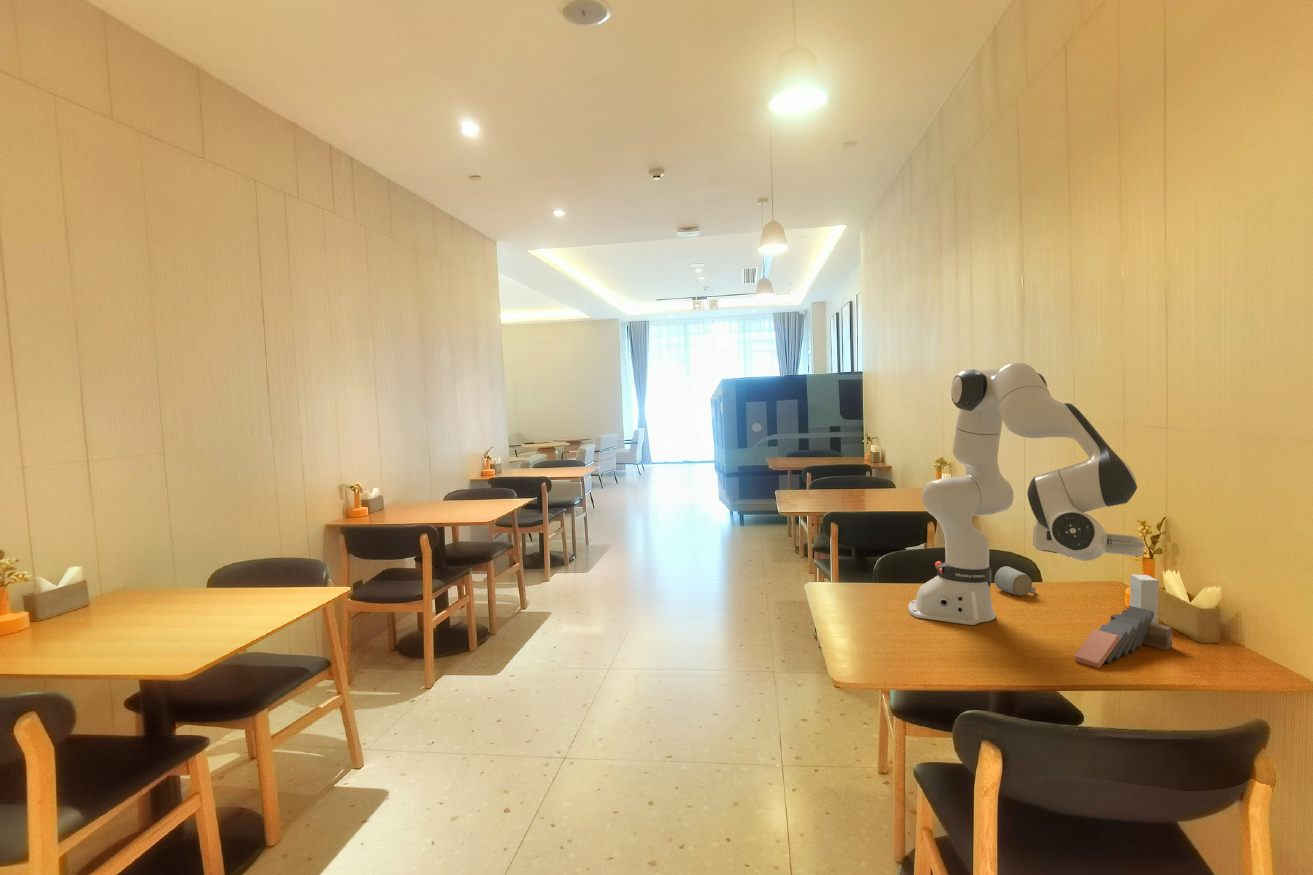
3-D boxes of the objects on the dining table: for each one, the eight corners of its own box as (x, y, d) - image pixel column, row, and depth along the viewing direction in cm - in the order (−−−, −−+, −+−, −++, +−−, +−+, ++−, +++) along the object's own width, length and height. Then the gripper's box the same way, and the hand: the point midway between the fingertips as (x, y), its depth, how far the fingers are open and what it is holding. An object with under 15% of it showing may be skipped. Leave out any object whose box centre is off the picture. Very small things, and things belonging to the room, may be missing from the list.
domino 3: (1115, 655, 150) (1133, 625, 154) (1092, 648, 154) (1110, 619, 158) (1117, 660, 151) (1135, 630, 155) (1094, 653, 155) (1112, 624, 159)
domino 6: (1137, 644, 156) (1152, 610, 159) (1114, 637, 160) (1129, 605, 163) (1139, 648, 156) (1154, 614, 160) (1116, 641, 160) (1131, 609, 164)
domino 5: (1131, 648, 154) (1146, 614, 158) (1108, 642, 158) (1123, 609, 162) (1133, 652, 155) (1148, 618, 158) (1110, 646, 159) (1125, 613, 162)
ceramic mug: (1013, 598, 197) (1014, 573, 197) (993, 590, 205) (994, 566, 205) (1042, 595, 200) (1043, 571, 199) (1021, 588, 208) (1022, 564, 207)
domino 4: (1124, 651, 152) (1140, 619, 156) (1100, 644, 157) (1117, 613, 160) (1126, 656, 153) (1142, 623, 157) (1102, 649, 157) (1119, 618, 161)
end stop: (1166, 649, 156) (1166, 629, 156) (1110, 635, 166) (1110, 615, 166) (1171, 647, 157) (1172, 626, 157) (1116, 632, 168) (1116, 613, 167)
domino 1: (1097, 662, 146) (1117, 635, 150) (1074, 655, 150) (1094, 628, 155) (1099, 668, 146) (1119, 640, 151) (1075, 661, 151) (1095, 634, 155)
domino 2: (1107, 658, 148) (1126, 629, 152) (1083, 651, 152) (1102, 623, 157) (1109, 664, 149) (1128, 635, 153) (1085, 656, 153) (1104, 628, 157)
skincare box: (1158, 625, 172) (1159, 580, 171) (1140, 624, 173) (1141, 580, 172) (1146, 617, 178) (1147, 574, 177) (1128, 616, 179) (1129, 573, 178)
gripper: (1144, 528, 131) (1146, 535, 141) (1028, 519, 144) (1038, 526, 154) (1143, 560, 130) (1146, 565, 140) (1026, 548, 143) (1037, 553, 153)
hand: (1089, 544), depth 147 cm, fingers closed
